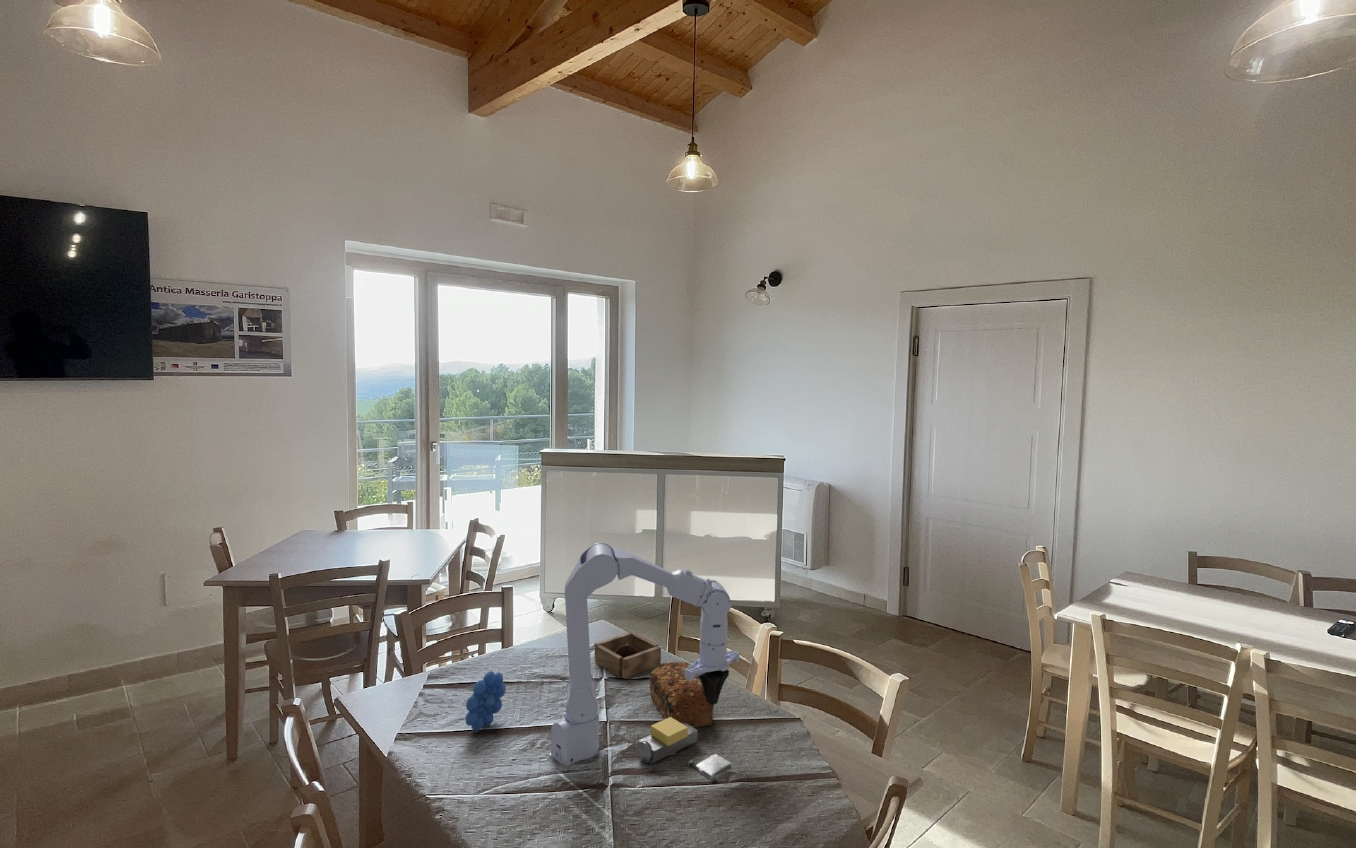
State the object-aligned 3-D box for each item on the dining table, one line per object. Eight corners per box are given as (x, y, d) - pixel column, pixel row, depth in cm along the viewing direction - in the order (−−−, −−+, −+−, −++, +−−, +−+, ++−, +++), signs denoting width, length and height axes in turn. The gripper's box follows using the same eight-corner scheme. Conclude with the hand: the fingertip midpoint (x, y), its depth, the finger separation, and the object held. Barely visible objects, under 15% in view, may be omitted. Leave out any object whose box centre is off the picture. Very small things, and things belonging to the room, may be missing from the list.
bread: (714, 731, 153) (715, 688, 152) (667, 738, 150) (668, 694, 149) (689, 692, 171) (690, 653, 170) (647, 697, 168) (648, 658, 167)
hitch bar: (688, 801, 128) (689, 774, 128) (635, 763, 140) (635, 738, 140) (735, 774, 137) (736, 749, 136) (681, 740, 149) (681, 717, 148)
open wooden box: (622, 679, 177) (623, 660, 176) (592, 661, 186) (592, 644, 186) (662, 664, 186) (662, 646, 185) (631, 648, 195) (631, 631, 195)
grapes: (490, 709, 160) (489, 660, 159) (512, 717, 157) (512, 666, 156) (452, 733, 150) (451, 680, 149) (475, 741, 147) (474, 687, 146)
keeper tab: (710, 782, 133) (710, 777, 133) (690, 769, 137) (690, 764, 137) (733, 767, 137) (732, 763, 137) (713, 755, 141) (713, 751, 141)
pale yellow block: (667, 762, 139) (668, 736, 138) (650, 751, 143) (651, 725, 142) (687, 752, 142) (687, 727, 142) (669, 741, 146) (670, 717, 146)
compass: (636, 658, 189) (636, 633, 188) (637, 671, 181) (638, 645, 181) (607, 659, 188) (607, 633, 188) (607, 672, 180) (607, 646, 180)
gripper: (701, 656, 137) (700, 721, 138) (750, 637, 146) (748, 698, 148) (678, 645, 142) (676, 707, 143) (726, 627, 152) (725, 686, 153)
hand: (711, 702), depth 146 cm, fingers closed
